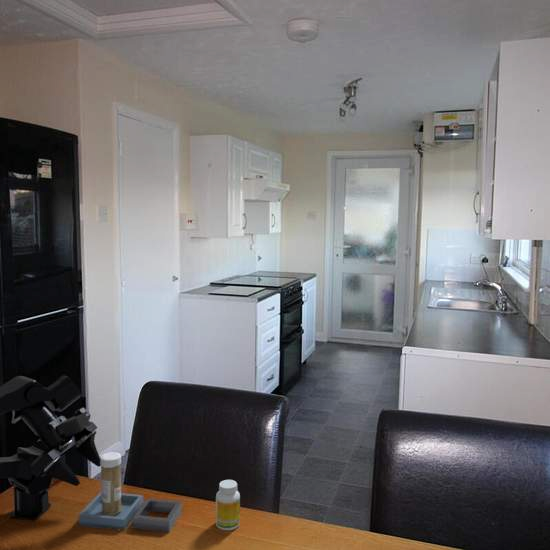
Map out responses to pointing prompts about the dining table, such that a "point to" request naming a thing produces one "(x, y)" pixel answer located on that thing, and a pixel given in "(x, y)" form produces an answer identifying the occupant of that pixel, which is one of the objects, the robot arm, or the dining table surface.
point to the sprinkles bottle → (111, 483)
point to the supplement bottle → (227, 505)
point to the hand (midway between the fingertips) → (90, 474)
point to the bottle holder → (153, 522)
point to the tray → (120, 521)
